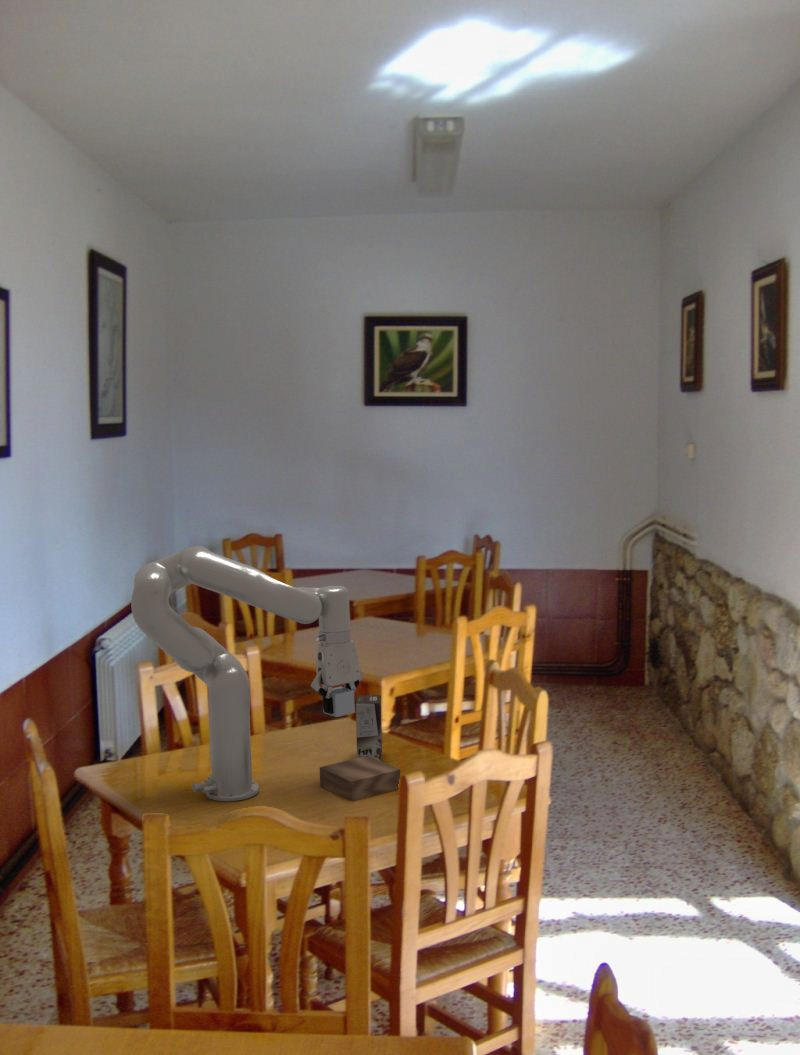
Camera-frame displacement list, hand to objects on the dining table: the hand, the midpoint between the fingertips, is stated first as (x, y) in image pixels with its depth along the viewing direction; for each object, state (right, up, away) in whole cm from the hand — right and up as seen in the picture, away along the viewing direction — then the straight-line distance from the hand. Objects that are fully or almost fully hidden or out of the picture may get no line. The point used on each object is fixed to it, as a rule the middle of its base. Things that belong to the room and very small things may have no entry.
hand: (339, 709), depth 260 cm
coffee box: (+7, -16, +18) cm, 26 cm away
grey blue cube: (0, -1, 0) cm, 1 cm away
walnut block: (+5, -19, -3) cm, 19 cm away
